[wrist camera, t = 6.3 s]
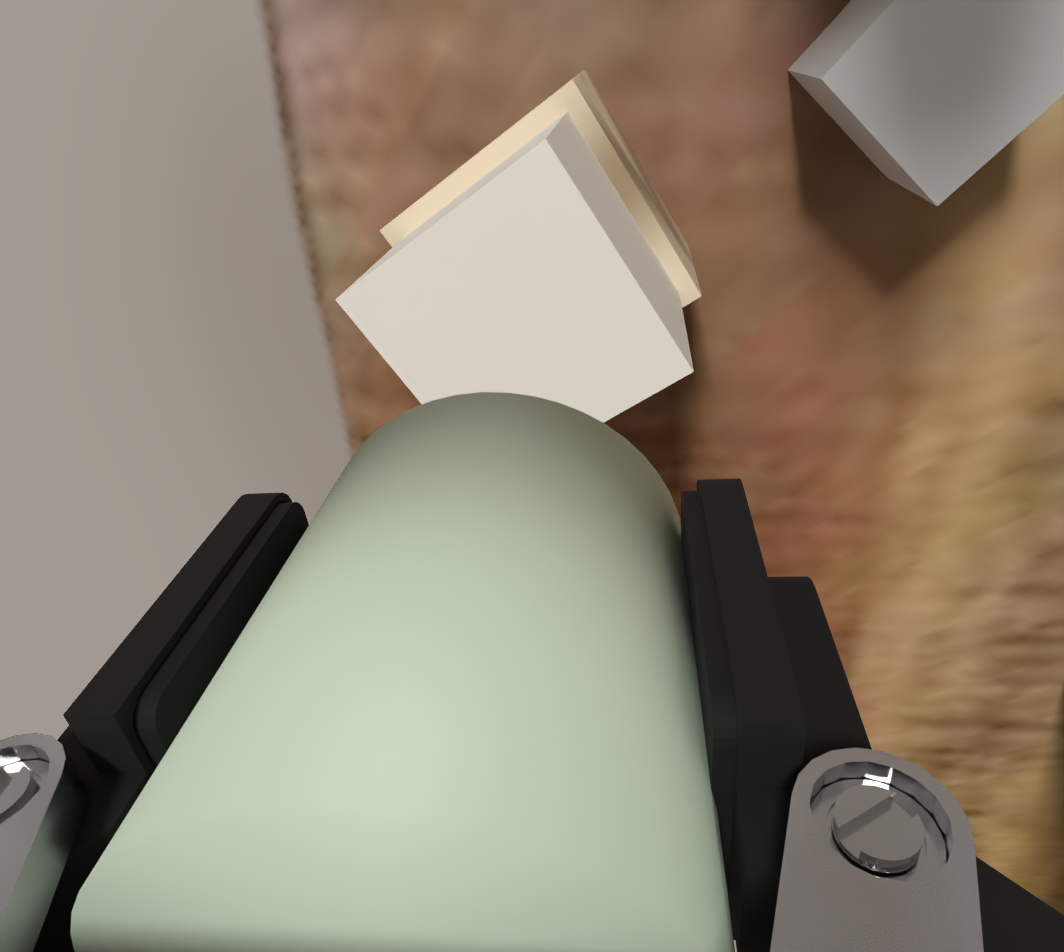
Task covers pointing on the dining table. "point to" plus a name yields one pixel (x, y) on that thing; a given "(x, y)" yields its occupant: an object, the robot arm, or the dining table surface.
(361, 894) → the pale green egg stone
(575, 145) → the tower top
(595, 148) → the tower base
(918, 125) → the grey cube
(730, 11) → the dining table surface
